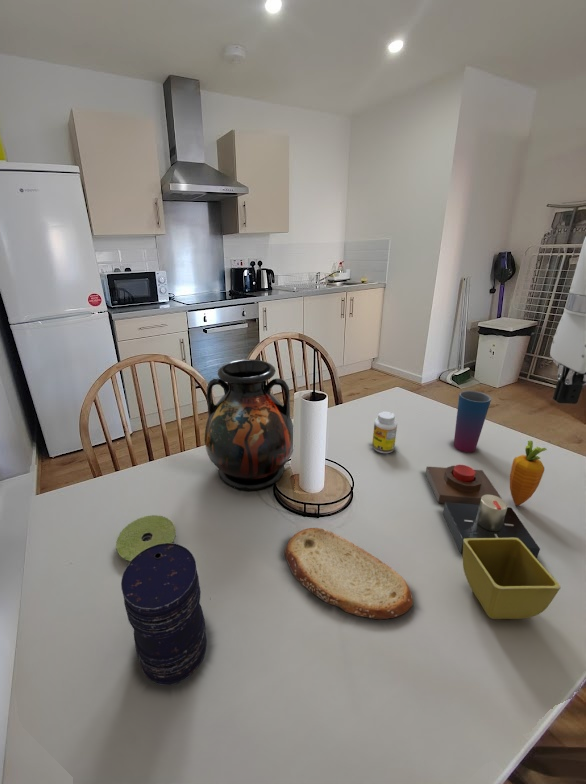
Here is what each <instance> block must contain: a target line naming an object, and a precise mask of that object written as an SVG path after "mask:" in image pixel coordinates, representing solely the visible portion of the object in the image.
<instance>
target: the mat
mask: <svg viewBox="0 0 586 784" xmlns="http://www.w3.org/2000/svg"><path fill="white" fill-rule="evenodd" d="M176 534H177V533H176V526H175V524H174V522H173V521H172V520H171V519H169V518H168V517H166V516H163V515H153V514H152V515H146V516H143V517H140V518H136V519H135V520H133V521H132V522H130V523H129V524H127V525H126V526H125V527H124V528H123V529H122V530H121V531H120V532H119V534H118V536H117V539H116V542H115V543H116V545H115V548H116V551H117V553H118V555H119V556H120V557H121V558H122V559H123V560H126V561H129V562H131V560H132V559H133V558H134V557H135V556H136V555H138V554H139V553H140V552H142V551H144V550H145V549H147V548H149V547H151V546H154V545H158V544H163V543H173V542H174V540H175V538H176Z"/></svg>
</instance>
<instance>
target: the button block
mask: <svg viewBox="0 0 586 784" xmlns="http://www.w3.org/2000/svg"><path fill="white" fill-rule="evenodd" d="M455 466H456V465H451V466H447V467H443V466H442V467H441V466H439V467H438V466H426V468H425V473H424V474H425V477H426V479H427V481H428V483H429V485H430V488H431V490H432V492H433V495H434V497H435V499H436V501H437V503H438V504H443V505H445V502H451V503H463V504H475V505H480V501H481V497H482V496H483V495H494V496H497V497H499V498H501V499H503V498H502V497H501V495H500V493H499V492H498V491H497V489H496V488H495V486H494V485H493V482H491V480H490V478H488V476H487V475H486V473H485V472H484V470H483V469H473V470H474V471H475V477H474V481H472V482H463V481H460V480H458V479H456V478H455V477H454V476H453V470H454V467H455Z"/></svg>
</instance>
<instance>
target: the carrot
mask: <svg viewBox="0 0 586 784" xmlns="http://www.w3.org/2000/svg"><path fill="white" fill-rule="evenodd" d="M533 446H534V443H533V440H527V445H525V448H524V449H525V454H521V455H518V456H515V457H514V458H513V461H512V465H511V470H510V474H509V490H510V496H511V498H512V502H513V504H514V505H515V506H521V505H522V504H525V502H527V501H528V500H529V499H530V498H532V496H533V495H534V493H535V492H536V490H537V489H538V487H539V485H540V483H541V480H542V478H543V475H544V473H545V466H544V464H543V462H542V460H540V459H541V456H537V455H539V454H540V453H542V452H544V451H547V448H546V447H540V446H535V447H533Z"/></svg>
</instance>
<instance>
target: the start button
mask: <svg viewBox="0 0 586 784" xmlns="http://www.w3.org/2000/svg"><path fill="white" fill-rule="evenodd" d="M454 466H455V467H454V470H453V476H454V477H455V478H456V479H458V480H460V481H463V482H472V481H474V477H475V471H474V470H475V469H473V468H472V467H470V466H468V465H465V464H456V465H454Z"/></svg>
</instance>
